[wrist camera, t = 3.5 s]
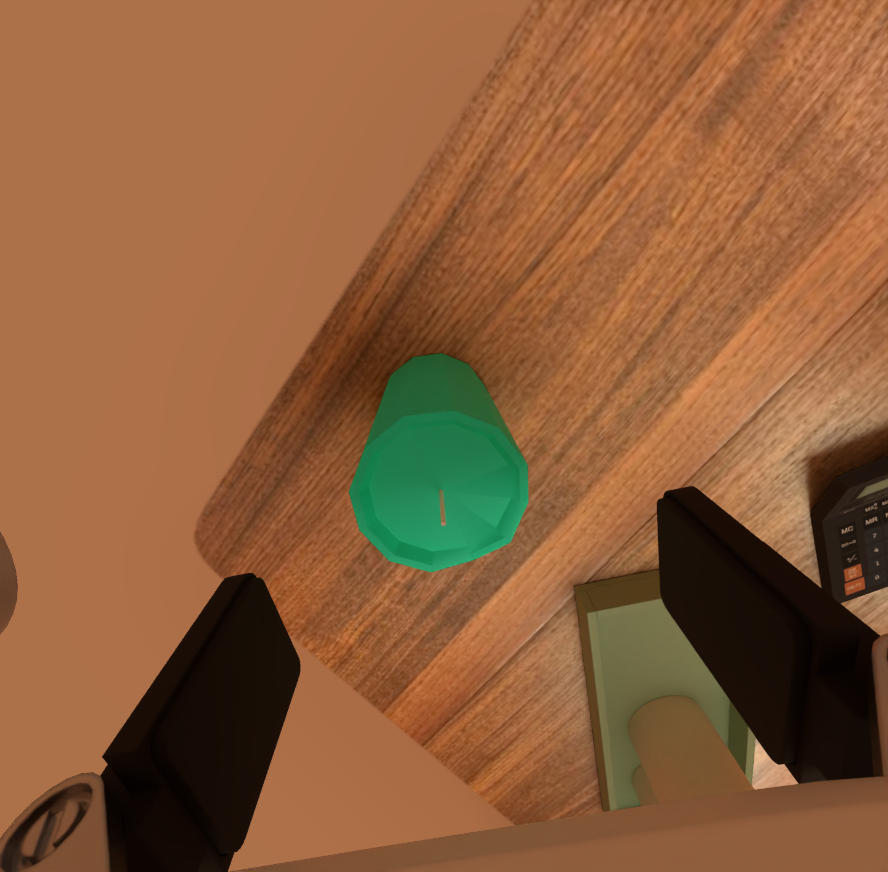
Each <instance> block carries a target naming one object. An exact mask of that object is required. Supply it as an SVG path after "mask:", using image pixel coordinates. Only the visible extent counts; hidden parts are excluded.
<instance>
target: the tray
mask: <svg viewBox="0 0 888 872" xmlns="http://www.w3.org/2000/svg"><path fill="white" fill-rule="evenodd" d="M574 590H575V598H576V606H577V613H578V621H579V629H580V637H581V645H582V652H583V660H584V668H585V676H586V684H587V691H588V699H589V707H590V715H591V723H592V730H593V738H594V746H595V754H596V762H597V769H598V777H599V785H600V793H601V801H602V809H603V812H606V811H613V810H620V809H626V808H633V807H639V806H641V805H640V802H639V800H638V797H637V795H636V792H635V790H634V788H633V785H632V777H633V774H634V772H635V770H636V769H637V768H638V767H639V766H640V765H641V762H640V760H639V757H638V755H637V753H636V751H635V748H634V746H633V744H632V742H631V739H630V737H629V735H628V723H629V721H630V719H631V717H632V715H633V714H634V713H635V712H636V711H637V710H638V709H639V708H640V707H642V706H643V705H645V704H646V703H648V702H650V701H652V700H655V699H658V698H661V697H666V696H683V697H687V698H690V699H693V700H694V701H696V702H697V703H698V704H699V705H700V706H701V707H702V709H703V710H704V712H705V713H706V715H707V716H708V718H709V720H710V721H711V723H712V724H713V726H714V727H715V729H716V730H717V732H718V734H719V735H720V737H721V738H722V740H723V741H724V743H725V744H726V746H727V748H728V749H729V751H730V752H731V754H732V755H733V757H734V759H735V760H736V762H737V763H738V765H739V766H740V768H741V769H742V771H743V773H744V774H745V776H746V777H747V779H748V780H749V782H750V783H751V785H752V777H753V764H754V751H755V738H756V737H755V736H754V734H753V733H752V731H751V730H750V728H749V727H748V726H747V724H746V723H745V721H744V720H743V718H742V717H741V716H740V714H739V713H738V711H737V710H736V708H735V707H734V705H733V704H732V703H731V701H730V700H729V698H728V697H727V695H726V694H725V693H724V691H723V690H722V688H721V687H720V685H719V684H718V683H717V681H716V680H715V678H714V677H713V675H712V674H711V672H710V671H709V670H708V668H707V667H706V665H705V664H704V662H703V661H702V660H701V658H700V657H699V655H698V654H697V652H696V651H695V650H694V648H693V647H692V645H691V644H690V642H689V641H688V640H687V638H686V637H685V635H684V634H683V632H682V631H681V629H680V628H679V627H678V625H677V624H676V622H675V621H674V619H673V618H672V617H671V615H670V614H669V612H668V611H667V609H666V608H665V606H664V604H663V601H662V599H661V595H660V578H659V569H658V570H653V571H648V572H643V573H638V574H633V575H628V576H623V577H618V578H613V579H608V580H603V581H598V582H593V583H588V584H583V585H578V586H574Z"/></svg>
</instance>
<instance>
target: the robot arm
mask: <svg viewBox="0 0 888 872" xmlns="http://www.w3.org/2000/svg"><path fill="white" fill-rule="evenodd" d="M657 523H658V551H659V578H660V595H661V599H662V601H663V604H664V606H665V608H666V609H667V611H668V612H669V614H670V615H671V617H672V618H673V619H674V621H675V622H676V624H677V625H678V627H679V628H680V629H681V631H682V632H683V634H684V635H685V637H686V638H687V640H688V641H689V642H690V644H691V645H692V647H693V648H694V650H695V651H696V652H697V654H698V655H699V657H700V658H701V660H702V661H703V662H704V664H705V665H706V667H707V668H708V670H709V671H710V672H711V674H712V675H713V677H714V678H715V680H716V681H717V683H718V684H719V685H720V687H721V688H722V690H723V691H724V693H725V694H726V695H727V697H728V698H729V700H730V701H731V703H732V704H733V705H734V707H735V708H736V710H737V711H738V713H739V714H740V716H741V717H742V718H743V720H744V721H745V723H746V724H747V726H748V727H749V728H750V730H751V731H752V733H753V734H754V736H755V737H756V738H757V740H758V741H759V743H760V744H761V746H762V747H763V749H764V750H765V751H766V753H767V754H768V755H769V757H770V758H771V759H772V760H773V761H774V762H775V763H777V764H778V765H780V764H785V766H786V767H787V768H788V770H789V771H790V772H791V774H792V775H793V777H794V778H795V779H796V781H797V782H798V784H795V785H788V786H780V787H772V788H765V789H757V790H750V791H742V792H734V793H727V794H719V795H712V796H705V797H699V798H692V799H686V800H679V801H672V802H666V803H659V804H653V805H646V806H639V807H633V808H626V809H620V810H613V811H606V812H600V813H593V814H587V815H580V816H574V817H567V818H560V819H554V820H547V821H541V822H535V823H528V824H522V825H516V826H509V827H503V828H497V829H490V830H484V831H478V832H471V833H465V834H459V835H453V836H446V837H440V838H433V839H427V840H421V841H415V842H408V843H402V844H396V845H389V846H384V847H377V848H371V849H365V850H358V851H352V852H346V853H341V854H334V855H328V856H322V857H316V858H310V859H304V860H298V861H292V862H286V863H279V864H274V865H268V866H262V867H255V868H249V869H243V870H237V871H231V872H888V634H884V635H881V636H880V635H878V634H877V633H876V632H875V631H873V630H872V629H871V628H870V627H869V626H867V625H866V624H865V623H864V622H862V621H861V620H860V619H859V618H857V617H856V616H855V615H854V614H852V613H851V612H850V611H849V610H848V609H846V608H845V607H844V606H843V605H841V604H840V603H839V602H838V601H836V600H835V599H834V598H833V597H831V596H830V595H829V594H828V593H826V592H825V591H824V590H823V589H822V588H820V587H819V586H818V585H817V584H815V583H814V582H813V581H812V580H810V579H809V578H808V577H807V576H805V575H804V574H803V573H802V572H801V571H799V570H798V569H797V568H796V567H794V566H793V565H792V564H791V563H789V562H788V561H787V560H786V559H784V558H783V557H782V556H781V555H779V554H778V553H777V552H776V551H775V550H773V549H772V548H771V547H770V546H768V545H767V544H766V543H765V542H763V541H761V540H760V539H759V538H757V537H756V536H755V535H754V534H753V533H751V532H750V531H749V530H748V529H746V528H745V527H744V526H743V525H741V524H740V523H739V522H738V521H737V520H735V519H734V518H733V517H732V516H730V515H729V514H728V513H727V512H725V511H724V510H723V509H722V508H720V507H719V506H718V505H717V504H716V503H714V502H713V501H712V500H711V499H709V498H708V497H707V496H706V495H704V494H703V493H702V492H701V491H700V490H698V489H697V488H695V487H694V486H689V487H684V488H679V489H674V490H669V491H666V492H665V493H664V496H663V498H662V499H659V500H658V501H657ZM299 675H300V660H299V657H298V655H297V653H296V650H295V648H294V646H293V644H292V642H291V639H290V637H289V635H288V633H287V631H286V628H285V626H284V624H283V622H282V620H281V617H280V615H279V613H278V611H277V609H276V606H275V604H274V602H273V600H272V598H271V595H270V593H269V591H268V589H267V587H266V585H265V582H264V581H263V579H262V578H259V577H258V578H257V577H256V576H255V575H254V574H253V573H246V574H241V575H236V576H231V577H227V578H225V579H224V580H223V581H222V583H221V584H220V585H219V587H218V588H217V590H216V591H215V593H214V594H213V596H212V597H211V599H210V600H209V602H208V603H207V605H206V606H205V607H204V609H203V610H202V612H201V613H200V615H199V616H198V618H197V619H196V621H195V622H194V623H193V625H192V626H191V628H190V629H189V631H188V632H187V634H186V635H185V637H184V638H183V639H182V641H181V642H180V644H179V645H178V647H177V648H176V650H175V651H174V653H173V654H172V656H171V657H170V658H169V660H168V661H167V663H166V664H165V666H164V667H163V669H162V670H161V671H160V673H159V675H158V676H157V677H156V679H155V680H154V682H153V683H152V685H151V686H150V688H149V689H148V690H147V692H146V693H145V695H144V696H143V698H142V699H141V701H140V702H139V704H138V705H137V706H136V708H135V710H134V711H133V712H132V714H131V715H130V717H129V718H128V720H127V721H126V723H125V724H124V726H123V727H122V729H121V730H120V731H119V733H118V734H117V736H116V737H115V739H114V740H113V742H112V743H111V744H110V746H109V747H108V749H107V750H106V752H105V753H104V755H103V756H102V757H103V759H104V760H105V761H106V762H107V764H108V765H107V766H106V768H105V770H104V771H103V773H102V774H101V776H99V775H97V774H95V773H93V772H92V773H81V774H78V775H76V776H73V777H70V778H68V779H66V780H64V781H63V782H61V783H59V784H57V785H56V786H54V787H52V788H51V789H50V790H48V791H47V792H45V793H44V794H43V795H41V796H40V797H39V798H38V799H36V800H35V801H34V802H33V803H32V804H31V805H30V806H29V807H27V809H25V810H24V811H23V812H22V813H21V814H20V815H19V816H18V817H17V818H16V819H15V821H14V822H13V823H12V824H11V826H10V827H9V828H8V829H7V830H6V832H5V833H4V834H3V835H2V837H1V838H0V872H228V869H229V866H230V864H231V861H232V858H233V855H234V852H237V851H238V850H239V849H240V848H241V846H242V845H243V843H244V840H245V838H246V835H247V832H248V829H249V826H250V823H251V820H252V817H253V814H254V811H255V808H256V805H257V802H258V799H259V796H260V793H261V790H262V787H263V784H264V780H265V778H266V775H267V771H268V769H269V766H270V762H271V760H272V756H273V754H274V750H275V748H276V745H277V742H278V739H279V736H280V733H281V730H282V727H283V724H284V721H285V718H286V715H287V711H288V709H289V705H290V703H291V699H292V696H293V693H294V690H295V687H296V685H297V681H298V678H299Z"/></svg>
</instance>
